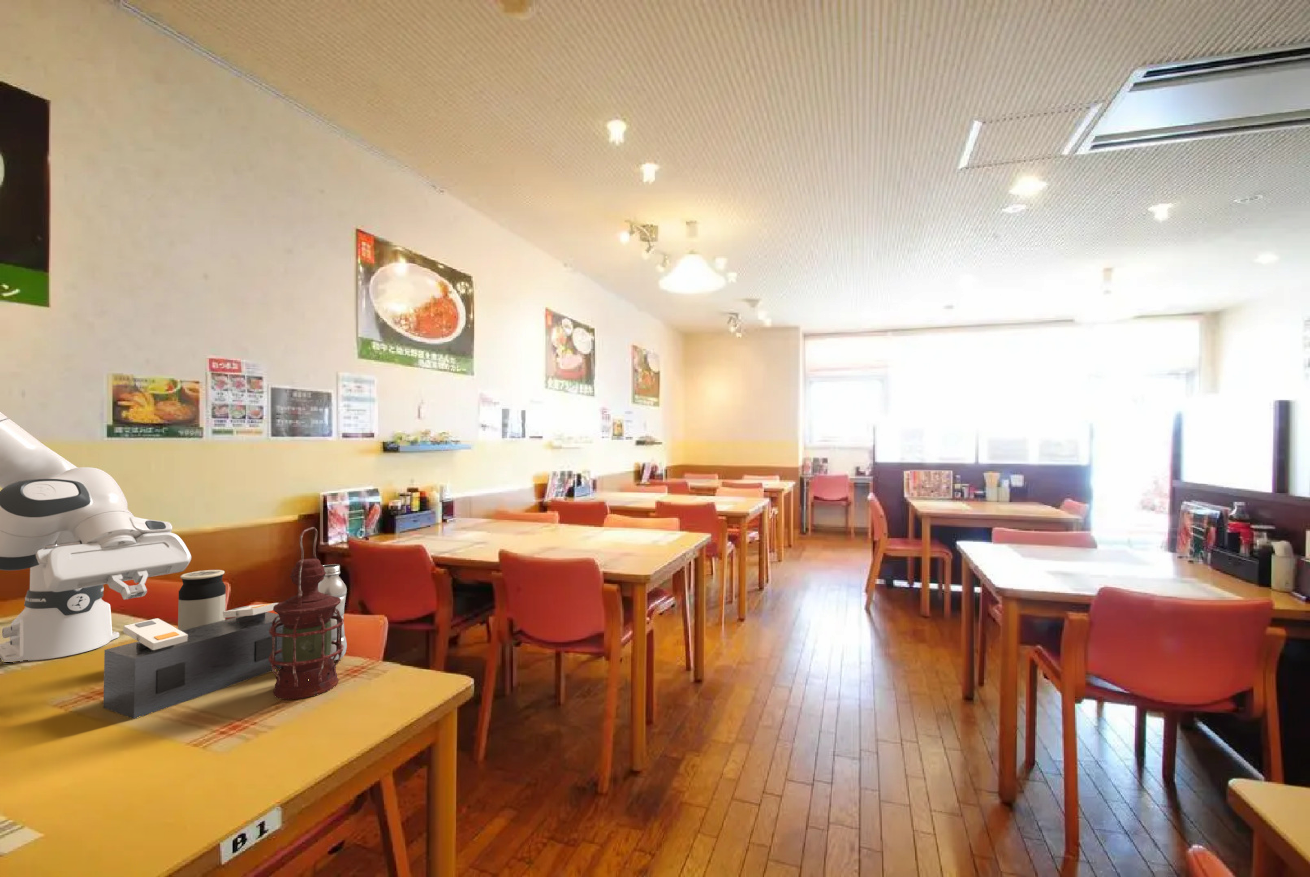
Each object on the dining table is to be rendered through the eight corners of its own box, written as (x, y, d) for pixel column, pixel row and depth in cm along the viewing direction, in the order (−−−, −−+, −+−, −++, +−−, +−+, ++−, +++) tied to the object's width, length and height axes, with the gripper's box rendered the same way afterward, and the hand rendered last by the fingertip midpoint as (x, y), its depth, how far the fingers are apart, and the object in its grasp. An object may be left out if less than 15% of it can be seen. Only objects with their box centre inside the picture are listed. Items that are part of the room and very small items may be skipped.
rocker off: (223, 617, 115) (222, 611, 115) (249, 611, 119) (248, 605, 120) (253, 615, 111) (252, 608, 111) (279, 608, 115) (278, 602, 116)
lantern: (330, 698, 102) (332, 531, 102) (254, 705, 99) (257, 533, 100) (352, 672, 113) (353, 523, 114) (284, 677, 111) (287, 524, 112)
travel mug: (223, 658, 121) (224, 574, 121) (174, 666, 116) (176, 579, 117) (225, 648, 127) (227, 568, 128) (180, 655, 123) (181, 572, 123)
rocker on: (122, 632, 100) (123, 625, 100) (157, 624, 105) (157, 617, 105) (153, 650, 96) (153, 642, 96) (187, 641, 101) (188, 633, 101)
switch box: (103, 707, 98) (104, 644, 98) (260, 657, 122) (261, 606, 122) (135, 719, 94) (136, 652, 94) (291, 665, 117) (292, 611, 118)
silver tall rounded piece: (331, 667, 116) (332, 569, 117) (303, 664, 117) (304, 568, 118) (353, 656, 122) (354, 563, 123) (326, 653, 124) (328, 562, 124)
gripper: (38, 534, 97) (63, 598, 92) (179, 521, 115) (206, 573, 111) (26, 558, 98) (50, 622, 94) (167, 541, 117) (193, 594, 113)
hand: (135, 595), depth 103 cm, fingers closed
